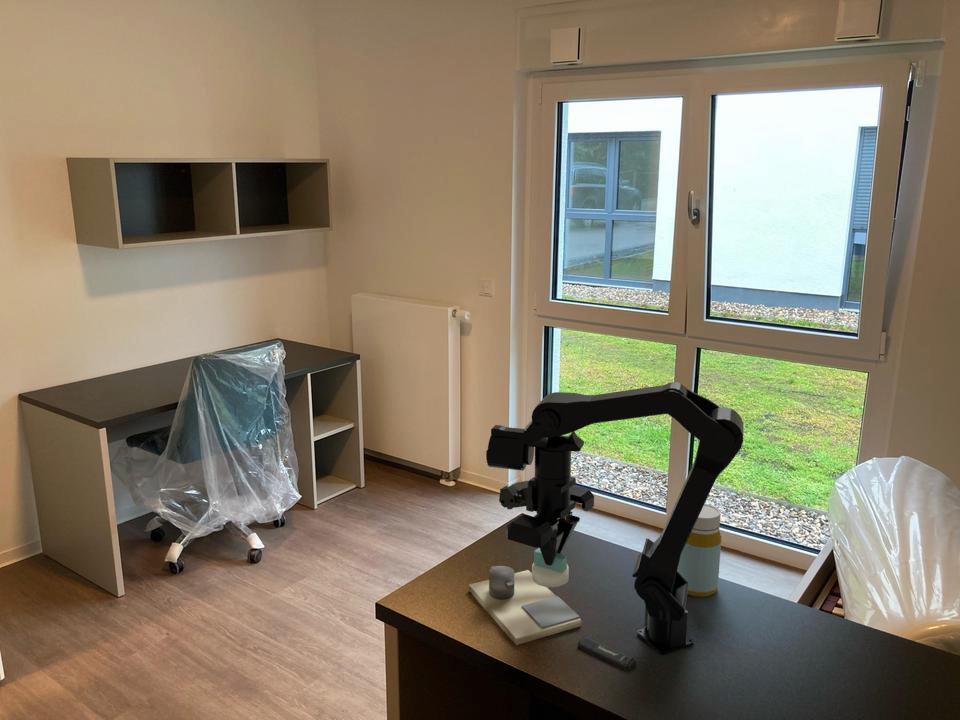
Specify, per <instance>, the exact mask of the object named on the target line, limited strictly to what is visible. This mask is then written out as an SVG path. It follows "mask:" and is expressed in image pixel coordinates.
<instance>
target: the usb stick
mask: <svg viewBox="0 0 960 720" xmlns="http://www.w3.org/2000/svg"><path fill="white" fill-rule="evenodd" d="M577 646H578V649H580V650H582V651H585V653H586V652H587V653H589V654H591V655H593V656H594V657H597V658H600V659H601V660H603V661H605V662H608V663H610V664H612V665H614V666H616V667H618V668H621V669H622V670H625V671H631V670H632V669H634V668H635V667H636V666H637V665H636V664H637V661H636V660H635V658H634V657H632V656H630V655H629V654H626V653H623V652H621V651H619V650H617V649H615V648H612V647H610V646H608V645H606V644H603V643H601V642H600V641H596V640H594V639H592V638H591V637H588V636H583V637H581V639H579V640H578V641H577Z"/></svg>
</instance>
